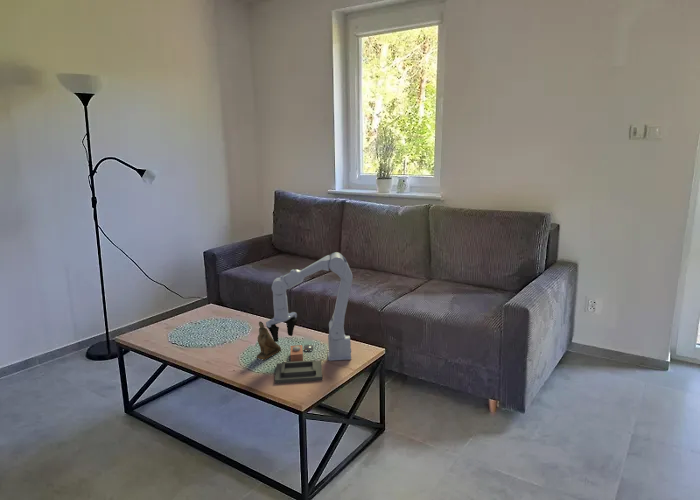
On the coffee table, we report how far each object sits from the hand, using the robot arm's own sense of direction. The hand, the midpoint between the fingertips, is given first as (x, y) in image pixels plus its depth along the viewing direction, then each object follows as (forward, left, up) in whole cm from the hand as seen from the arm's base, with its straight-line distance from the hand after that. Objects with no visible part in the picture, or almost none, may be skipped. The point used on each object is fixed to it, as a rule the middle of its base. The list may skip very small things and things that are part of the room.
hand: (283, 338), depth 206 cm
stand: (-6, +13, -10) cm, 18 cm away
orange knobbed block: (-5, -1, -10) cm, 11 cm away
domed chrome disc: (-10, -9, -10) cm, 17 cm away
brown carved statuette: (+7, -7, -10) cm, 14 cm away
